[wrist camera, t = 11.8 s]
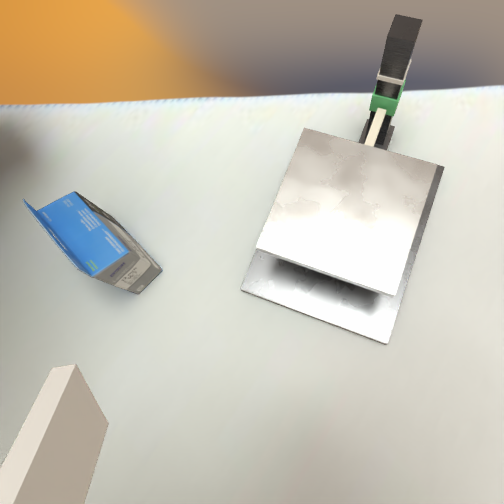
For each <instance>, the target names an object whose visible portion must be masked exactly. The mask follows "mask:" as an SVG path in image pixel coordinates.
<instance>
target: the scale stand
mask: <svg viewBox="0 0 504 504" xmlns="http://www.w3.org/2000/svg"><path fill="white" fill-rule="evenodd" d="M421 23H422V20H421V19H416V18H411V17H406V16H401V15H395V17H394V20H393V22H392V25H391V28H390V31H389V33H388V36H387V40H386V45H385V49H384V54H383V59H382V63H381V67H380V70H379V72H378V75H377V80H378V81H377V85H376V87H375V90H374V92H373V95H372V100H371V104H370V109H369V110H370V111H371V113H370V118H369V120H368V119H367V121H366V124H365V127H364V130H363V132H362V135H361V138H360V140H359V143H361V144H365V141H366V138H367V136H368V133H369V130H370V128H371V125H372V122H373V119H374V117H375V114H376V111H377V109H378V108H381V109H385V110H386V114H385V117H384V119H383V122H382V125H381V128H380V130H379V133H378V136H377V139H376V141H375V144H374V147H376V148H379V149H383V150H387V148H388V145H389V142H390V139H391V136H392V134H393V131H394V128H395V126H391V125H390V124H391V121H392V117H393V116H394V114H395V111H396V108H397V105H398V103H399V100H400V97H401V94H402V91H403V88H404V84H405V81H406V80H405V77H406V74H407V72H408V69H409V66H410V63H411V60H410V59H411V56H412V53H413V49H414V46H415V42H416V39H417V36H418V33H419V30H420V27H421ZM443 170H444V167H443V166H439V165H437V168H436V171H435V174H434V177H433V180H432V183H431V186H430V189H429V192H428V196H427V199H426V202H425V205H424V208H423V211H422V214H421V217H420V220H419V223H418V226H417V229H416V232H415V236H414V239H413V242H412V245H411V248H410V251H409V254H408V257H407V260H406V263H405V266H404V269H403V272H402V276H401V279H400V282H399V285H398V288H397V291H396V294H395V296H394V297H393V298H392V297H389V296H386V295H383V294H380V293H377V292H374V291H372V290H369V289H366V288H363V287H360V286H357V285H354V284H352V283H349V282H346V281H343V280H340V279H337V278H334V277H332V276H329V275H326V274H323V273H320V272H317V271H315V270H312V269H309V268H306V267H303V266H300V265H297V264H295V263H292V262H289V261H286V260H283V259H280V258H277V257H275V256H272V255H269V254H266V253H263V252H260V251H258V250H257V249H256V251H255V254H254V256H253V258H252V261H251V263H250V266H249V268H248V271H247V273H246V276H245V278H244V281H243V283H242V286H241V288H240V289H241V290H242V291H244V292H247V293H249V294H252V295H255V296H257V297H260V298H263V299H265V300H268V301H271V302H273V303H276V304H279V305H281V306H284V307H287V308H289V309H292V310H295V311H297V312H300V313H303V314H305V315H308V316H311V317H313V318H316V319H319V320H321V321H324V322H327V323H329V324H332V325H335V326H337V327H340V328H343V329H345V330H348V331H351V332H353V333H356V334H359V335H361V336H364V337H367V338H369V339H372V340H375V341H377V342H380V343H383V344H385V345H386V344H388V341H389V338H390V335H391V332H392V329H393V326H394V322H395V319H396V316H397V313H398V310H399V307H400V304H401V301H402V298H403V294H404V291H405V288H406V285H407V282H408V279H409V276H410V273H411V270H412V266H413V263H414V260H415V257H416V254H417V251H418V248H419V245H420V241H421V238H422V235H423V232H424V229H425V226H426V223H427V220H428V217H429V213H430V210H431V207H432V204H433V201H434V198H435V195H436V192H437V189H438V185H439V182H440V179H441V176H442V173H443Z"/></svg>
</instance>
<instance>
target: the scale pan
mask: <svg viewBox="0 0 504 504" xmlns="http://www.w3.org/2000/svg"><path fill="white" fill-rule="evenodd" d="M385 114H386V110H385V109H381V108H378V109H377V111H376V114H375V117H374V119H373V122H372V125H371V128H370V130H369V133H368V136H367V138H366V141H365V144H361V143H358V142H354V141H350V140H347V139H343V138H339V137H336V136H332V135H329V134H325V133H321V132H318V131H314V130H310V129H307V128H304V129H303V132H302V134H301V137H300V139H299V142H298V144H297V147H296V149H295V152H294V154H293V157H292V159H291V162H290V164H289V167H288V169H287V171H286V174H285V176H284V179H283V181H282V184H281V186H280V189H279V191H278V194H277V196H276V199H275V201H274V204H273V206H272V209H271V211H270V213H269V216H268V218H267V221H266V223H265V226H264V228H263V231H262V233H261V236H260V238H259V241H258V243H257V246H256V248H257V250H258V251H260V252H263V253H266V254H269V255H272V256H275V257H277V258H280V259H283V260H286V261H289V262H292V263H295V264H297V265H300V266H303V267H306V268H309V269H312V270H315V271H317V272H320V273H323V274H326V275H329V276H332V277H334V278H337V279H340V280H343V281H346V282H349V283H352V284H354V285H357V286H360V287H363V288H366V289H369V290H372V291H374V292H377V293H380V294H383V295H386V296H389V297H392V298H393V297H394V296H395V294H396V291H397V288H398V285H399V282H400V279H401V276H402V272H403V269H404V266H405V263H406V260H407V257H408V254H409V251H410V248H411V245H412V242H413V239H414V236H415V232H416V229H417V226H418V223H419V220H420V217H421V214H422V211H423V208H424V205H425V202H426V199H427V196H428V192H429V189H430V186H431V183H432V180H433V177H434V174H435V171H436V168H437V164H434V163H430V162H426V161H423V160H419V159H416V158H412V157H408V156H405V155H401V154H397V153H394V152H390V151H387V150H383V149H379V148H376V147H374V144H375V141H376V139H377V136H378V133H379V130H380V128H381V125H382V122H383V119H384V117H385Z"/></svg>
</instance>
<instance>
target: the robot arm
mask: <svg viewBox="0 0 504 504" xmlns="http://www.w3.org/2000/svg"><path fill="white" fill-rule="evenodd" d="M108 424H109V423H108V422H107V420H106V418H105V416H104V414H103V412H102V411H101V409H100V407H99V405H98V403H97V401H96V400H95V398H94V396H93V394H92V392H91V390H90V389H89V387H88V385H87V383H86V381H85V379H84V378H83V376H82V374H81V372H80V370H79V368H78V367H77V365H76V364H72V365H66V366H60V367H55V368H52V369H51V371H50V373H49V375H48V377H47V379H46V381H45V383H44V385H43V387H42V388H41V390H40V392H39V394H38V396H37V398H36V400H35V402H34V404H33V406H32V408H31V410H30V412H29V414H28V416H27V418H26V420H25V422H24V424H23V426H22V428H21V430H20V432H19V434H18V436H17V437H16V439H15V441H14V443H13V445H12V447H11V449H10V451H9V453H8V455H7V457H6V459H5V461H4V463H3V465H2V467H1V469H0V504H84V502H85V499H86V496H87V493H88V489H89V486H90V483H91V480H92V476H93V473H94V470H95V466H96V463H97V460H98V457H99V453H100V450H101V447H102V444H103V440H104V437H105V434H106V431H107V427H108Z"/></svg>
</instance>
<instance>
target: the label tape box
mask: <svg viewBox="0 0 504 504" xmlns="http://www.w3.org/2000/svg"><path fill="white" fill-rule="evenodd" d="M23 203H24V205H25V206H26V207H27V209H28V210H29V212H30V213H31V214H32V215H33V217H34V218H35V219H36V220H37V222H38V223H39V224H40V225H41V227H42V228H43V229H44V230H45V231H46V233H47V234H48V235H49V236H50V237H51V239H52V240H53V241H54V242H55V244H56V245H57V246H58V247H59V248H60V250H61V251H62V252H63V253H64V254H65V256H66V257H67V258H68V259H69V260H70V261H71V262H72V264H73V265H74V266H75V267H76V268H77V269H78V270H79V271H81V272H83V273H85V274H87V275H88V276H90V277H92V278H96V279H98V280H101V281H103V282H106V283H109V284H111V285H114V286H117V287H119V288H122V289H125V290H128V291H131V292H133V293H136V294H140V292H142V290H144V289H145V288H146V287H147V285H148V284H149V283H150V282H151V281H152V280H153V279H154V278H155V277H156V276H157V275H158V274H159V273H160V272H161V271H162V269H161V268H160V266H159V265H158V264H157V263H156V262H155V261H154V260H153V259H152V258H151V257H150V256H149V255H148V253H147V252H146V251H145V250H144V249H143V248H142V247H141V246H140V245H139V244H138V243H137V242H136V241H135V240H134V239H133V238H132V237H131V236H130V234H129V233H128V232H127V231H126V230H125V229H124V228H123V227H122V226H121V225H120V224H119V223H118V222H117V221H116V220H115V219H114V218H113V217H112V216H110V215H109V214H107V213H106V212H104V211H103V210H102V209H100V208H99V207H97V206H96V205H94V204H93V203H92V202H90V201H89V200H87V199H86V198H84V197H83V196H81V195H80V194H78V193H77V192H75V191H74V192H72V193H70V194H68V195H66V196H64V197H62V198H60V199H58V200H56V201H54V202H52V203H51V204H49V205H47V206H45V207H43V208H41V209H39V210H37V211H36V210H35V209H34V208H33V207H32V206H30V205H29V204H28V203H27V202H26V201H25V200H24V199H23ZM53 235H54V236H55V237H56V238H57V239H56V238H55V237H54V236H53ZM60 243H61V244H62V245H61V244H60ZM64 248H65V249H64Z"/></svg>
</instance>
